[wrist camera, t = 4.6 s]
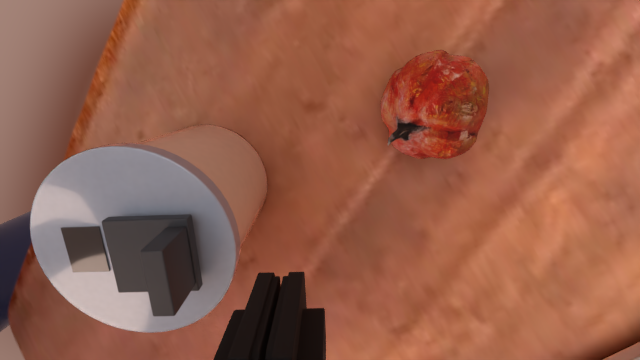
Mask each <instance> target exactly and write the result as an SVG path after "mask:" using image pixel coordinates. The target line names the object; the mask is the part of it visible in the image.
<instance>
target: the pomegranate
mask: <svg viewBox="0 0 640 360" xmlns="http://www.w3.org/2000/svg"><path fill="white" fill-rule="evenodd" d="M488 94H489V85H488V79H487V77H486V75H485V73H484V72H483V70H482V69H481V68H480V66H478V64H476V62H475V61H474V60H472V59H471V58H468V57H464V56H458V55H457V56H455V55H449V54H448V53H447V52H446V51H444V50H436V51H432V52H427V53H424V54H420V55H419V56H416V57H415V58H413V59H412V60H410V61H409V62H408V63H407V64H406V65H405V67H403V68H401V69H399V70H397V71H395V72H394V74H393V75H392V77H391V78H390V80H389V82H388V84H387V87H386V89H385V91H384V93H383V96H382V99H381V118H382V121H383V122H384V123H385V124H386V126H387V127H388V129H389V136H390V137H389V138H388V145H389V144H390V143H391V144H392V145H393V146H394V147H395V148H396V149H397V150H399V151H401V152H402V153H403V154H406V155H410V156H412V157H416V158H420V159H422V158H427V157H435V158H444V159H447V158H452V157H455V156H458V155H461V154H463V153H465V152H466V151H468V150H469V149H470V148H471V147H472V145H473V144H474V143H475V142H476V139H477V134H478V131H479V129H480V126H481V124H482V122H483V119H484V117H485V114H486V110H487V103H488Z"/></svg>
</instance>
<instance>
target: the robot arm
mask: <svg viewBox="0 0 640 360" xmlns="http://www.w3.org/2000/svg"><path fill="white" fill-rule="evenodd" d="M214 360H326V332H325V310H324V308H313V309H306V292H305V276H304V272H289V275H288V276H284V277H283V280H282V284H280V277H279V276H275V274H274V273H259V274H258V276H257V279H256V281H255V284H254V287H253V290H252V292H251V295H250V298H249V300H248V303H247V306H246V309H245V310H235V311H234V312H233V314H232V316H231V319H230V321H229V324H228V326H227V328H226V331H225V333H224V336H223V338H222V341H221V343H220V345H219V348H218V350H217V353H216V355H215V357H214Z"/></svg>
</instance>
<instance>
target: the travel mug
mask: <svg viewBox="0 0 640 360" xmlns="http://www.w3.org/2000/svg"><path fill="white" fill-rule="evenodd" d="M266 195H267V176H266V171H265V168H264V165H263V163H262V161H261V159H260V157H259V155H258V154H257V152H256V151H255V150H254V148H253V147H252V146H251V145H250V144H249V143H248V142H247V141H246V140H245V139H243V138H242V137H241V136H239V135H238V134H236V133H234V132H233V131H230V130H228V129H226V128H223V127H219V126H214V125H194V126H190V127H186V128H183V129H180V130H177V131H174V132H170V133H167V134H164V135H161V136H158V137H155V138H152V139H148V140H145V141H142V142H139V143H117V144H108V145H104V146H100V147H96V148H93V149H89V150H86V151H83V152H80V153H78V154H76V155H73V156H71V157H70V158H68V159H66V160H65V161H63V162H61V163H60V164H59V165H58V166H57V167H56V168H54V169H53V170H52V171H51V172H50V173H49V175H48V176H47V177H46V178H45V179H44V181H43V182H42V184H41V186H40V187H39V189H38V191H37V193H36V196H35V198H34V201H33V204H32V209H31V214H30V232H31V240H32V244H33V248H34V252H35V254H36V257H37V259H38V262H39V264H40V266H41V268H42V270H43V271H44V273H45V275H46V276H47V278H48V279H49V281H50V282H51V283H52V285H53V286H54V287H55V288H56V289H57V290H58V292H59V293H60V294H61V295H62V296H63V297H64V298H65V299H67V300H68V301H69V302H70V303H71V304H72V305H74V306H75V307H76V308H78V309H79V310H80V311H82V312H84V313H85V314H87V315H88V316H90V317H92V318H94V319H96V320H98V321H100V322H102V323H105V324H108V325H110V326H113V327H116V328H120V329H124V330H128V331H135V332H150V333H153V332H165V331H170V330H175V329H179V328H182V327H185V326H187V325H190V324H192V323H194V322H196V321H198V320H199V319H201V318H202V317H204V316H205V315H207V314H208V313H209V312H210V311H212V310H213V309H214V308H215V307H216V306H217V305H218V303H219V302H220V301H221V300H222V299H223V297H224V295H225V294H226V292H227V291H228V289H229V287H230V285H231V282H232V280H233V278H234V276H235V273H236V271H237V267H238V263H239V257H240V250H241V248H242V246H243V244H244V242H245V240H246V238H247V236H248V234H249V232H250V230H251V228H252V226H253V224H254V222H255V221H256V219H257V217H258V215H259V213H260V211H261V209H262V207H263V204H264V202H265V199H266ZM183 214H191V215H192V220H193V227H194V233H195V239H196V245H197V252H198V258H199V264H200V270H201V277H202V283H203V285H202V286H201V288H200V290H199V291H191V292H190V294H189V295H188V297H187V298H186V300H185V301H184V303H183V304H182V306H181V307H180V309H179V310H178V312H177V313H176V315H175V316H153V313H152V308H151V304H150V299H149V294H148V292H126V293H119V292H118V288H117V284H116V280H115V276H114V272H113V268H112V263H111V259H110V255H109V251H108V247H107V243H106V239H105V235H104V231H103V227H102V221H103V220H104V219H106V218H107V217H117V216H150V215H183Z"/></svg>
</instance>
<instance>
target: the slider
mask: <svg viewBox="0 0 640 360" xmlns="http://www.w3.org/2000/svg"><path fill="white" fill-rule="evenodd" d="M102 227H103V231H104V235H105V239H106V243H107V247H108V251H109V255H110V259H111V263H112V268H113V272H114V276H115V280H116V284H117V288H118V292H119V293H126V292H148V294H149V299H150V304H151V308H152V313H153V316H175V315H176V313H177V312H178V310H179V309H180V307H181V306H182V304H183V303H184V301H185V300H186V298H187V297H188V295H189V294H190V292H191V291H199V290H200V288H201V286H202V285H203V283H202V277H201V270H200V264H199V258H198V252H197V245H196V239H195V233H194V227H193V220H192V215H191V214H183V215H150V216H117V217H107V218H106V219H104V220H103V221H102Z"/></svg>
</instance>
